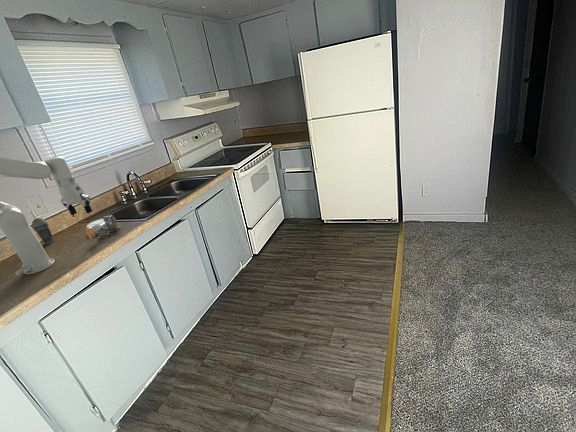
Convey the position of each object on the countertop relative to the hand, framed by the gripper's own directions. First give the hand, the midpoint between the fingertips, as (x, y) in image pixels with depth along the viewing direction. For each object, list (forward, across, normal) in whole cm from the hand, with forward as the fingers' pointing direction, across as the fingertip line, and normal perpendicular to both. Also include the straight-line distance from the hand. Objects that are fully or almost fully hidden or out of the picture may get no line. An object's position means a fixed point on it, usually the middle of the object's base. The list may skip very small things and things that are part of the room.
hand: (82, 213), depth 157 cm
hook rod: (+15, 0, -8) cm, 17 cm away
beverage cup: (+18, +37, -5) cm, 41 cm away
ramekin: (+18, +11, -16) cm, 27 cm away
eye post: (+18, 0, -14) cm, 23 cm away
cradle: (+18, 0, -6) cm, 19 cm away
